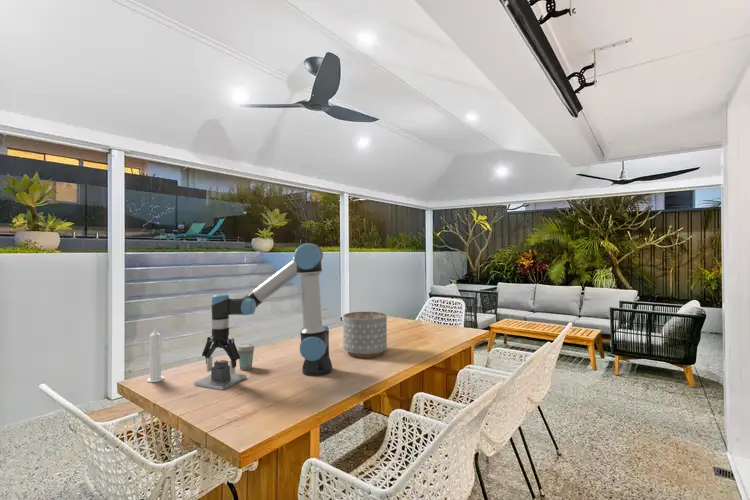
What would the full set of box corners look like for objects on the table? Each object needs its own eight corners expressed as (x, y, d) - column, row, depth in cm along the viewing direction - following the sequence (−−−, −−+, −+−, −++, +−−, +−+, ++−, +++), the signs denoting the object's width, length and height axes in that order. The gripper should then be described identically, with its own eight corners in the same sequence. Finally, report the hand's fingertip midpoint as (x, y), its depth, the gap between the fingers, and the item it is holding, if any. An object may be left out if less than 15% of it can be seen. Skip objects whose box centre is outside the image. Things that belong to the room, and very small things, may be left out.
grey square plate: (246, 378, 188) (246, 364, 188) (222, 389, 173) (222, 375, 173) (219, 374, 194) (219, 361, 193) (194, 385, 179) (194, 371, 179)
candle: (167, 378, 188) (166, 326, 188) (154, 383, 181) (154, 329, 181) (156, 376, 190) (155, 325, 190) (143, 381, 184) (142, 328, 183)
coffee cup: (249, 371, 198) (249, 348, 197) (233, 370, 199) (233, 347, 199) (257, 366, 206) (257, 343, 206) (242, 365, 208) (242, 342, 207)
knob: (230, 377, 185) (231, 360, 185) (221, 381, 179) (221, 364, 179) (220, 375, 187) (220, 358, 187) (210, 379, 182) (211, 362, 181)
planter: (394, 350, 235) (394, 313, 234) (371, 361, 213) (371, 321, 213) (359, 345, 248) (359, 310, 248) (334, 354, 227) (334, 316, 226)
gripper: (247, 327, 182) (248, 373, 182) (205, 324, 191) (206, 367, 191) (236, 331, 175) (236, 378, 175) (193, 327, 184) (194, 372, 184)
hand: (220, 372), depth 183 cm, fingers open, 13 cm apart
